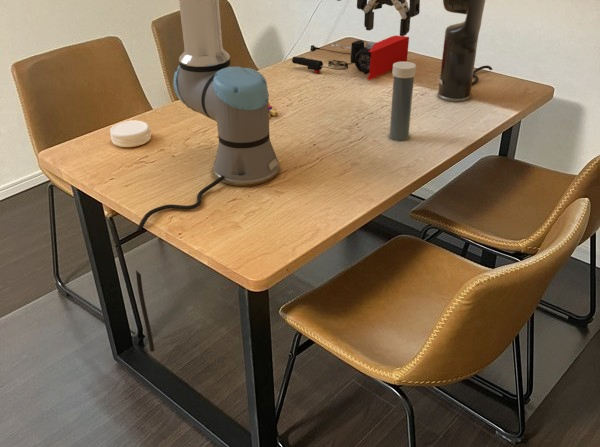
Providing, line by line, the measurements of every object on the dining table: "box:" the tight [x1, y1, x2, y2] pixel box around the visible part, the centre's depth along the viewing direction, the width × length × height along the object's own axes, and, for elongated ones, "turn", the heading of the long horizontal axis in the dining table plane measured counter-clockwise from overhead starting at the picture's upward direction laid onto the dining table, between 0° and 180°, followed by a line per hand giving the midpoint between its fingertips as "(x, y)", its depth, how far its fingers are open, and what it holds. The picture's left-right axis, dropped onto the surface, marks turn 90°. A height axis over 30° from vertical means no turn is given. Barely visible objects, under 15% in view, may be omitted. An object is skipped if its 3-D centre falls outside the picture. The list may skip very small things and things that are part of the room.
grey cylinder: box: [389, 76, 415, 141], centre depth 156 cm, size 5×5×18 cm
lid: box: [391, 61, 417, 78], centre depth 152 cm, size 6×6×2 cm
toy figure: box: [268, 101, 278, 119], centre depth 176 cm, size 2×7×12 cm
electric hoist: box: [291, 35, 410, 81], centre depth 208 cm, size 10×27×30 cm
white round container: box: [109, 119, 152, 148], centre depth 160 cm, size 10×10×4 cm
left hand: (358, 4), depth 166 cm, fingers open, 13 cm apart
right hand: (386, 32), depth 138 cm, fingers open, 8 cm apart
